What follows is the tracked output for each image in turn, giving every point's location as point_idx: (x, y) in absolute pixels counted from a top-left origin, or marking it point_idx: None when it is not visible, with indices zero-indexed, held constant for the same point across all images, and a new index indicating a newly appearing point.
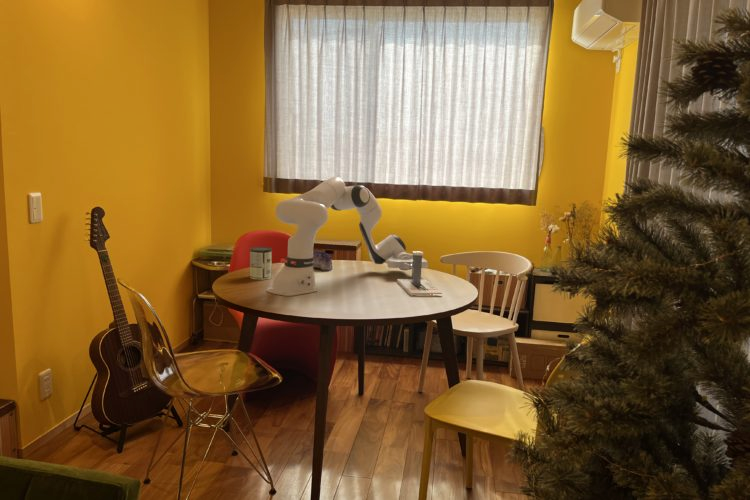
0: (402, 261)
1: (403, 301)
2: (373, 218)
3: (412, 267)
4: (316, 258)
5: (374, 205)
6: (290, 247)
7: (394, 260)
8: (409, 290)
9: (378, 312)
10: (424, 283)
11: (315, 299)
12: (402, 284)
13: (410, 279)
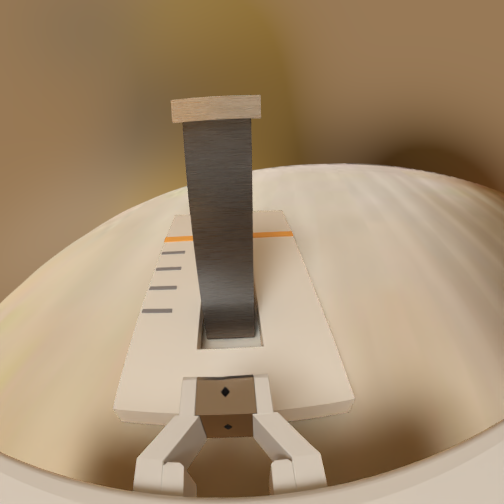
0: (355, 481)
1: (305, 198)
2: None
3: (252, 226)
4: None
5: None
6: None
7: (488, 470)
8: (285, 223)
9: (347, 172)
10: (176, 307)
11: (477, 208)
12: (312, 285)
13: None
